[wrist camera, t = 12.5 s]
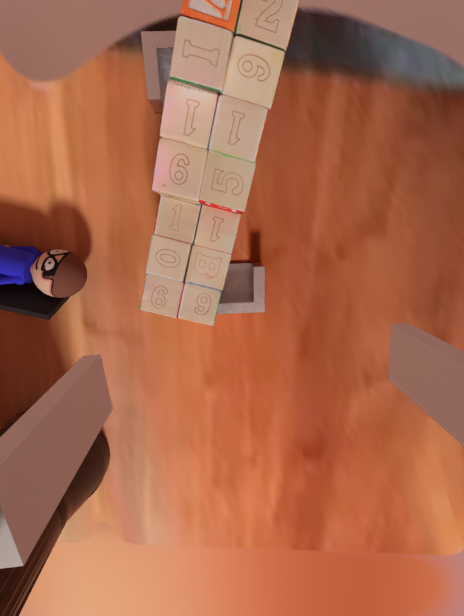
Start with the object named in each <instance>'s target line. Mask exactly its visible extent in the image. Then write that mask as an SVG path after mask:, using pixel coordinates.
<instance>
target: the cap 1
mask: <svg viewBox="0 0 464 616" xmlns="http://www.w3.org/2000/svg"><path fill="white" fill-rule="evenodd" d="M175 35H176V31H145V32H141V36H142V46H143V57H144V67H145V77H146V87H147V98H148V101H149V103H150V104H151V106H152V108H153V109H154V111H155V113H163V106H164V100H165V92H166V86H167V83H168V81H169V80H170V69H171V62H172V55H173V48H174V42H175Z"/></svg>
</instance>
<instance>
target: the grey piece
mask: <svg viewBox="0 0 464 616" xmlns="http://www.w3.org/2000/svg"><path fill="white" fill-rule="evenodd" d="M253 312H265V266H264V265H263V264H262V263H261V262H257V263H230V264H229V267H228V271H227V275H226V279H225V283H224V287H223V290H222V292H221V297H220V302H219V305H218V309H217V314H228V313H253Z"/></svg>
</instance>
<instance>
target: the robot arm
mask: <svg viewBox="0 0 464 616" xmlns="http://www.w3.org/2000/svg"><path fill="white" fill-rule="evenodd" d="M388 379H389V380H390V381H391V382H392V383H393V384H394V385H395V386H397V387H398V388H399V389H400V390H401V391H402V392H403V393H404V394H405V395H407V396H408V397H409V398H410V399H411V400H412V401H413V402H414V403H416V404H417V405H418V406H419V407H420V408H421V409H422V410H423V411H425V412H426V413H427V414H428V415H429V416H430V417H431V418H432V419H433V420H435V421H436V422H437V423H438V424H439V425H440V426H441V427H442V428H444V429H445V430H446V431H447V432H448V433H449V434H450V435H451V436H453V437H454V438H455V439H456V440H457V441H458V442H459V443H460V444H462V445H463V446H464V351H462V350H460V349H458V348H456V347H454V346H452V345H450V344H448V343H446V342H444V341H442V340H440V339H438V338H436V337H435V336H433V335H431V334H429V333H427V332H425V331H423V330H421V329H419V328H417V327H415V326H413V325H411V324H409V323H403V324H393V325H391V339H390V354H389V370H388ZM112 409H113V407H112V403H111V399H110V394H109V390H108V386H107V381H106V377H105V373H104V368H103V364H102V359H101V355H90V356H83V357H82V358H81V359H80V360H79V361H78V362H77V363H75V364H74V365H73V366H72V367H71V368H70V369H69V370H68V371H67V372H66V373H65V374H64V375H63V376H62V377H61V378H60V379H59V380H58V381H57V382H56V383H55V384H54V385H53V386H52V387H51V388H50V389H49V390H48V391H47V392H46V393H45V394H44V395H43V396H42V397H41V398H40V399H39V400H38V401H37V402H36V403H35V404H34V405H33V406H32V407H31V408H30V409H29V410H28V411H26V412H23V413H21V414H19V415H18V416H16V417H15V418H13V419H12V420H11V421H10V422H9V423H8V424H7V425H6V426H5V427H4V428H3V429H1V430H0V616H19V614H20V612H21V610H22V608H23V606H24V604H25V602H26V600H27V598H28V596H29V594H30V592H31V590H32V588H33V586H34V584H35V583H36V581H37V579H38V577H39V574H40V573H41V571H42V569H43V567H44V565H45V563H46V561H47V559H48V557H49V555H50V553H51V551H52V549H53V547H54V545H55V543H56V541H57V539H58V537H59V535H60V533H61V531H62V530H63V528H64V526H65V524H66V522H67V521H68V520H69V519H70V517H71V516H72V515H73V514H74V513H75V512H76V511H77V510H78V509H79V508H80V506H81V505H82V504H83V503H84V502H85V501H86V500H87V499H88V498H89V497H90V496H91V495H92V494H93V493H94V492H95V491H96V490H97V488H98V487H99V485H100V484H101V482H102V480H103V478H104V475H105V473H106V471H107V469H108V466H109V460H110V454H109V448H108V445H107V442H106V440H105V438H104V436H103V435H102V433H101V432H100V430H101V428H102V426H103V425H104V423H105V421H106V419H107V418H108V416H109V414H110V412H111V411H112Z"/></svg>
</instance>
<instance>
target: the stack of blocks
mask: <svg viewBox="0 0 464 616" xmlns="http://www.w3.org/2000/svg"><path fill="white" fill-rule="evenodd" d="M299 1H300V0H182V6H181V16H180V17H179V18H178V22H177V29H176V35H175V42H174V48H173V55H172V62H171V69H170V80H169V81H168V83H167V86H166V92H165V100H164V106H163V113H162V119H161V126H160V140H159V143H158V150H157V157H156V163H155V170H154V176H153V183H152V190H154V191H155V192H157V193H159V194H160V195H161V196H160V201H159V206H158V212H157V217H156V223H155V228H154V234H153V235H152V238H151V243H150V248H149V253H148V259H147V265H146V271H145V272H146V279H145V284H144V290H143V295H142V301H141V306H140V310H144V311H148V312H152V313H157V314H161V315H165V316H169V317H174V318H177V317H178V318H181V319H185V320H189V321H193V322H198V323H202V324H207V325H211V326H213V325H214V322H215V318H216V314H217V309H218V305H219V302H220V297H221V292H222V290H223V287H224V283H225V279H226V275H227V271H228V267H229V263H230V259H231V254H232V251H233V247H234V243H235V239H236V235H237V230H238V226H239V222H240V218H241V214H242V213H244V212H245V208H246V204H247V200H248V196H249V192H250V188H251V183H252V179H253V175H254V171H255V167H256V163H255V161H256V157H257V153H258V149H259V145H260V141H261V137H262V133H263V129H264V125H265V121H266V119H267V117H268V114H269V112H270V109H271V106H272V102H273V98H274V94H275V90H276V86H277V82H278V78H279V75H280V71H281V67H282V63H283V59H284V54H285V52H286V49H287V46H288V42H289V39H290V35H291V31H292V27H293V24H294V20H295V16H296V12H297V9H298V5H299Z"/></svg>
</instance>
